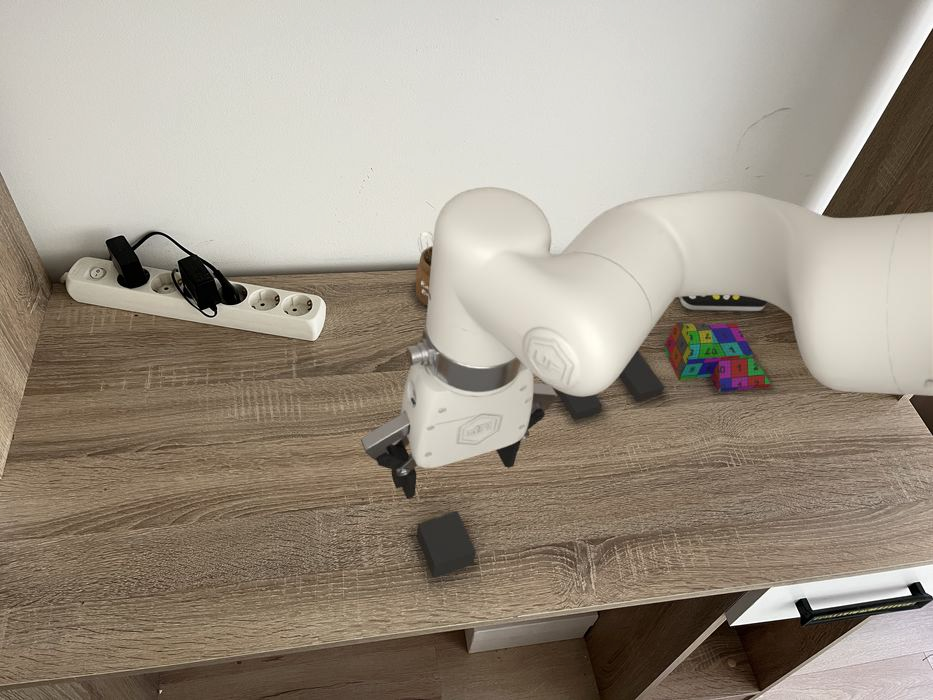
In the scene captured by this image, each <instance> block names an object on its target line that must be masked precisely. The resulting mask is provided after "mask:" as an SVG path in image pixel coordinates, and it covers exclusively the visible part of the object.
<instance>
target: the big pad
mask: <svg viewBox="0 0 933 700" xmlns="http://www.w3.org/2000/svg"><path fill="white" fill-rule="evenodd" d="M619 377H620V379H621V381H622V382H623V384H624V385H625V386H626V388H627V389H628V391H629V392H630V394H631V395H632V397H633V398H634V399H635V400H636V402H640V401H643V400H646V399H649V398H653V397H656V396H659V395H662V393H663V391H664V388H665V386H664V385H663V383H662V382H661V380H660V379H659V378H658V376H657V374H656V373H655V372H654V370H653V369H652V368H651V367H650V365H649V364H648V363H647V361H646V360H645V358H644V357H643V356H642V354H641V353H640V352H639V349H638V350H637V351H636V353H635V354H634V356H633V357H632V358H631V360H630V361H629V363H628V364H627V366H626V367H625V368H624V370H623V371H622V372H621V374H620V375H619ZM554 390H555V392H556V394H557V395H558V398H560V400H561V402H562V403H563V405H564V407H565V408H566V410H567V411H568V413H569V415H570V416H571V418H572V419H573V421H576V420H580V419H583V418H587V417H590V416H593V415H596V414H600V412H601V410H602V408H603V404H602V403H601V401H600V399H599V398H598V396H597V394H595V395H591V396H584V397H582V396H573V395H569V394H566V393H563V392H561V391H559V390H557V389H555V388H554Z"/></svg>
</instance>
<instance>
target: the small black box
mask: <svg viewBox="0 0 933 700" xmlns="http://www.w3.org/2000/svg"><path fill="white" fill-rule="evenodd" d="M416 540H417V541H418V544H419V546H420V550H421V551H422V554H423V556H424V560H425V562H426V564H427V566H428V570H429V572H430V573H431V576H432V578H433V579H437V578H440V577H442V576H445V575H447V574H450V573H453V572H456V571H459V570H461V569H462V570H463V569H464V568H467V567H470V566H473V565H474V561H475V556H476V553H477V551H476V549H475V547H474V544H473V542H472V540H471V538H470V535H469V532H468V531H467V529H466V526H465V524H464V522H463V520H462V518H461V516H460V513H459V511H458V510H456V511H453V512H449V513H446V514H444V515H441V516H437V517H435V518H432V519H428V520H425V521H421V522H419V523H417V532H416Z"/></svg>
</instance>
